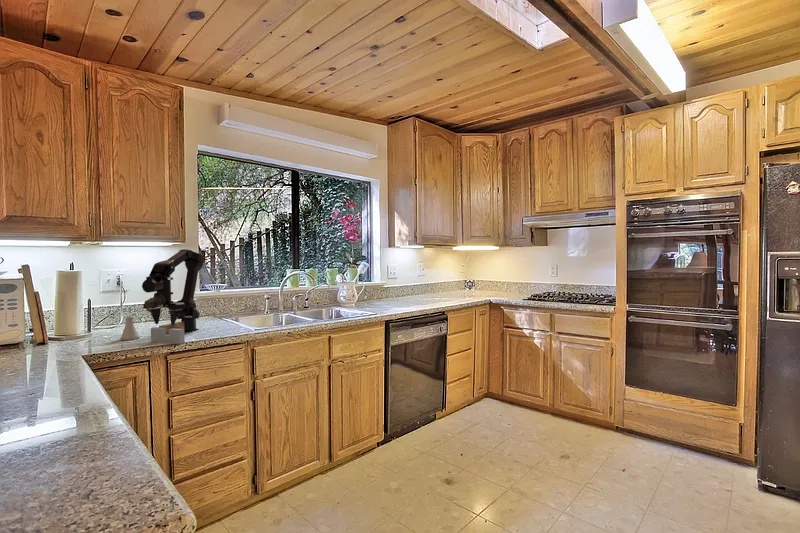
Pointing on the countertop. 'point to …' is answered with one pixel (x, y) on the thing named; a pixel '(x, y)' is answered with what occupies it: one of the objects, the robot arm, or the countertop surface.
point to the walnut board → (173, 326)
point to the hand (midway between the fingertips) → (164, 324)
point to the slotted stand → (160, 335)
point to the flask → (129, 330)
